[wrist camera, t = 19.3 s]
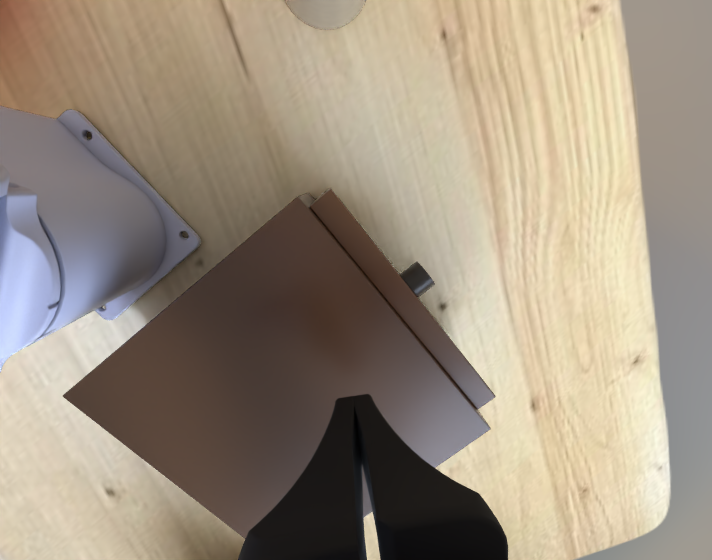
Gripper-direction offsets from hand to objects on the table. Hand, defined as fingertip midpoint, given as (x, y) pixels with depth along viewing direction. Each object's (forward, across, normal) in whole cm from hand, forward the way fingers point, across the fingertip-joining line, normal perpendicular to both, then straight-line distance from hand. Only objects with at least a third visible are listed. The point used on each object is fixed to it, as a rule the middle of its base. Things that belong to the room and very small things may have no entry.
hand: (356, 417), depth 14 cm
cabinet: (+10, +3, +1) cm, 11 cm away
